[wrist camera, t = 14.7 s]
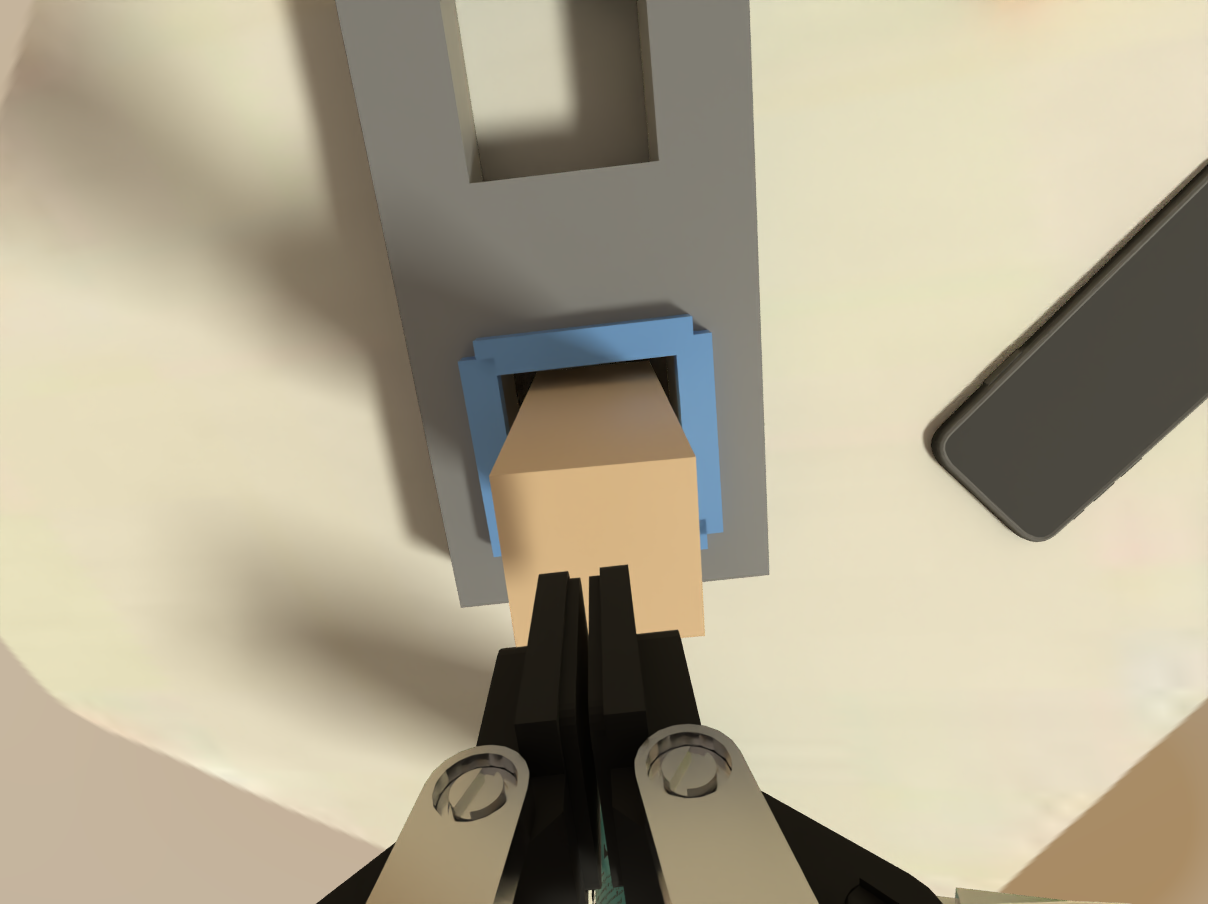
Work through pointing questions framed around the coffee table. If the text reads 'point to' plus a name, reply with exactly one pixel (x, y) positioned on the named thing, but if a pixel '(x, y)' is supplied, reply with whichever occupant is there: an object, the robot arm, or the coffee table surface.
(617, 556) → the tan rectangular block
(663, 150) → the square hole board
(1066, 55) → the coffee table surface
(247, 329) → the coffee table surface
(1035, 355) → the smartphone
